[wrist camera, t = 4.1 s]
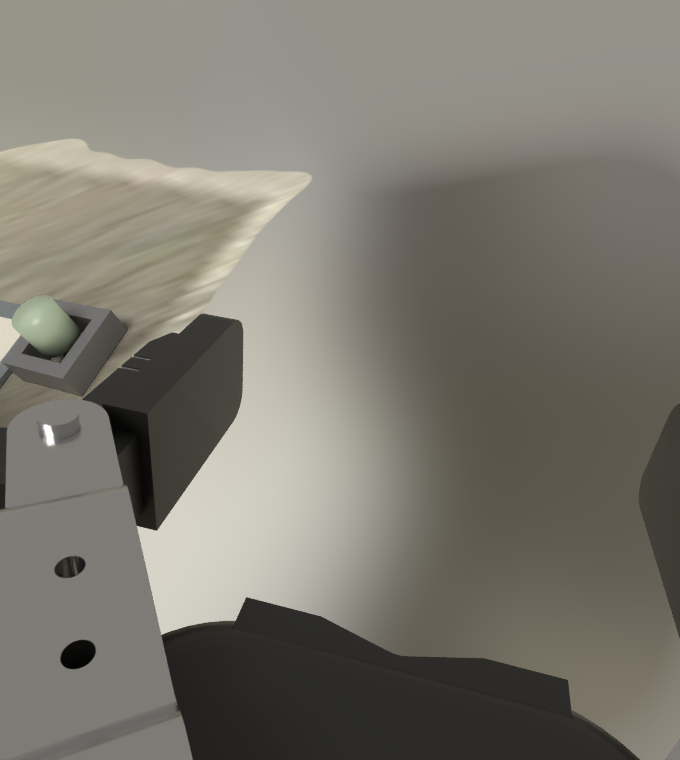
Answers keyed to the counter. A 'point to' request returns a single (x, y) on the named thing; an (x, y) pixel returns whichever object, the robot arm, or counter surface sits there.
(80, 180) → the counter surface
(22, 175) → the counter surface
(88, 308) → the grey square holder
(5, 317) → the mat
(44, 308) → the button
